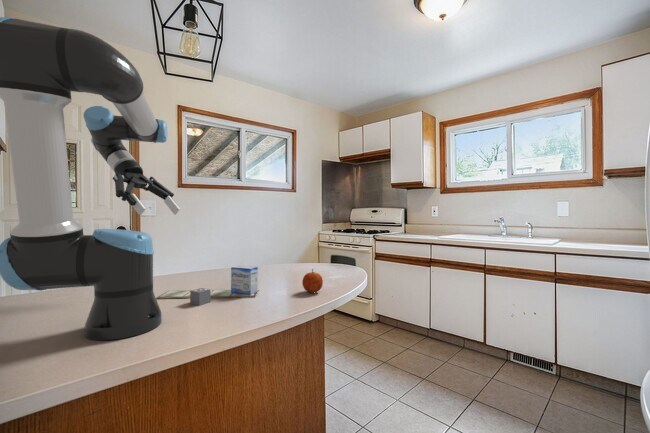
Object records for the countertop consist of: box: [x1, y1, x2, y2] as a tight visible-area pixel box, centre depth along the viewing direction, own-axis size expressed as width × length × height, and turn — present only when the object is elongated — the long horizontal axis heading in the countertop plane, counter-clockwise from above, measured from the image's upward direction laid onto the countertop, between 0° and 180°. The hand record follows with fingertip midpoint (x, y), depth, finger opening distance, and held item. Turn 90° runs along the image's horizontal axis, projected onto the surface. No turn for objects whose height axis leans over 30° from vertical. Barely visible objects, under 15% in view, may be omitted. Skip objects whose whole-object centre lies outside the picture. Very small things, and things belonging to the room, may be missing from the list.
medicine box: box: [230, 265, 259, 295], centre depth 101 cm, size 8×4×9 cm, turn 71°
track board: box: [155, 289, 260, 300], centre depth 100 cm, size 31×9×1 cm, turn 94°
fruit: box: [301, 268, 324, 294], centre depth 102 cm, size 7×7×8 cm
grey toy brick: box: [189, 287, 212, 307], centre depth 91 cm, size 4×4×4 cm
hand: (161, 211), depth 97 cm, fingers open, 13 cm apart
